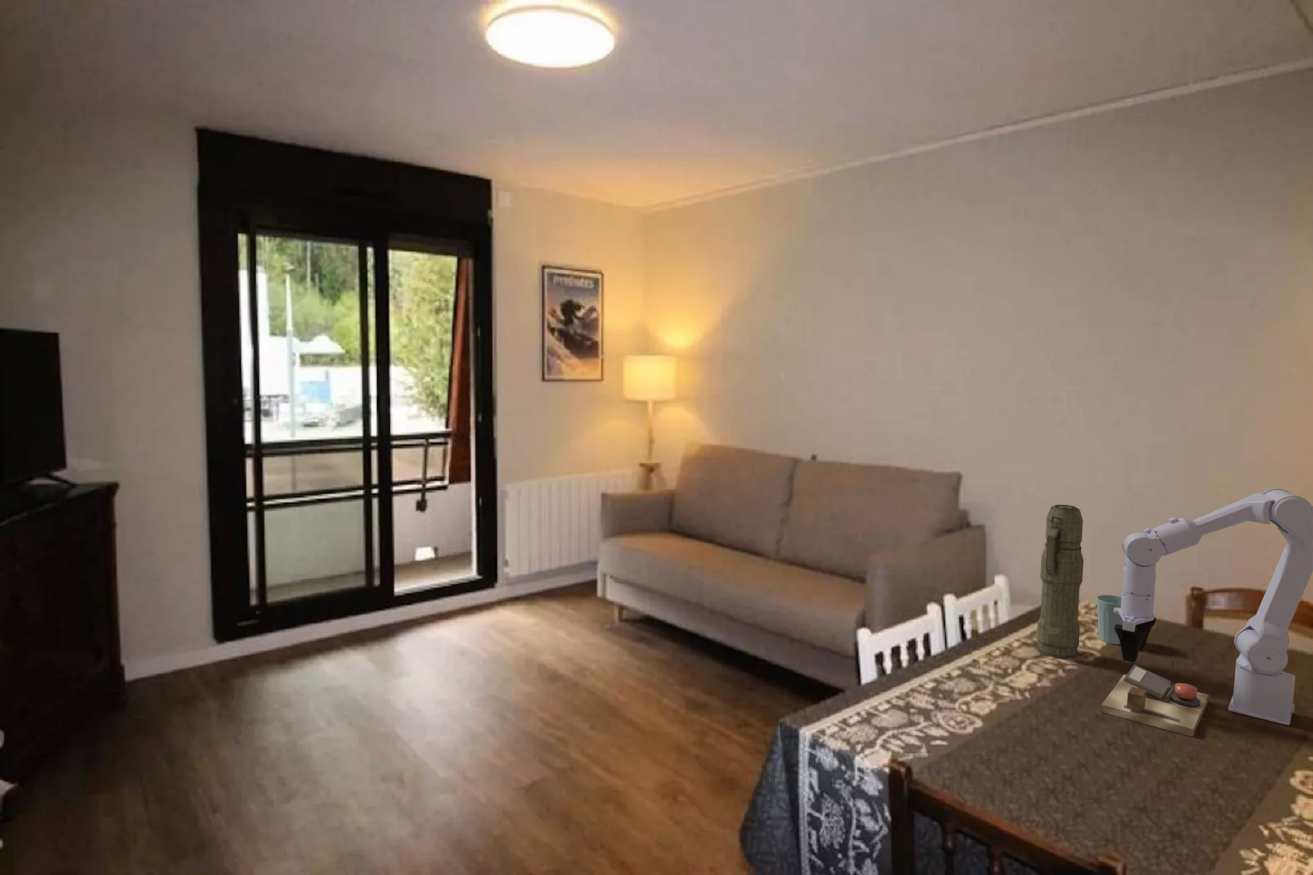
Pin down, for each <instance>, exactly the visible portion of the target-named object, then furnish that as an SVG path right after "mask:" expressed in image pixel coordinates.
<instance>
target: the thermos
mask: <svg viewBox="0 0 1313 875" xmlns="http://www.w3.org/2000/svg"><path fill="white" fill-rule="evenodd" d="M1083 524H1084V520H1083V516H1082V512H1081V509H1080V508H1079V507H1077V506H1074V505H1069V504H1055V505H1053V506H1051V507H1050V509H1049V510H1048V512H1047V515H1046V523H1045V540H1046V541H1045V544H1044V549H1043V551H1042V553H1041V560H1040V577H1039V578H1041V583H1042V585H1041V598H1040V599H1041V600H1040V602H1041V603H1040V617H1039V619H1038V621H1037V625H1036V626H1037V627H1036V629H1037V630H1036V641H1037V645H1036V651H1037V652H1039V653H1041V654H1042V655H1045V656H1047V657H1051V658H1054V659H1055V658H1057V659H1066V660H1067V659H1068V660H1070V659H1075V658H1077V657H1078V653H1079V652H1078V648H1079V646H1080V634H1081V633H1080V632H1081V628H1080V627H1081V626H1080V624H1079V620H1078V619H1079V606H1080V605H1079V604H1080V589H1081V588H1080V587H1081V585H1082V583H1083V576H1084V563H1085V562H1084V556H1083V552H1082V546H1081V543H1082V542H1083V528H1084V527H1083V526H1084V525H1083Z"/></svg>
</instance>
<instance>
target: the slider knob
mask: <svg viewBox="0 0 1313 875" xmlns="http://www.w3.org/2000/svg"><path fill="white" fill-rule="evenodd" d="M1145 698H1146V690H1143V689H1139V688H1135V687H1131V689H1130V690H1129V692H1128V698H1127V709H1131V710H1135V711H1138V712H1142V710H1143V708H1144V707H1145Z"/></svg>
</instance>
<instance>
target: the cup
mask: <svg viewBox="0 0 1313 875" xmlns="http://www.w3.org/2000/svg"><path fill="white" fill-rule="evenodd" d="M1121 597H1122V596H1120V595H1112V594H1099V595H1098V596H1096V610H1097V625H1098V639H1099V640H1100V641H1102V642H1104V643H1107V644H1110V645H1111V644H1112V645H1120V641H1119V638H1118V636H1117V634H1116V632H1115V629H1114V627H1115V625H1116V624H1120V625H1123V620H1122V618H1121V616H1120V614H1118V613H1114V609H1115V608H1121Z"/></svg>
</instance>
